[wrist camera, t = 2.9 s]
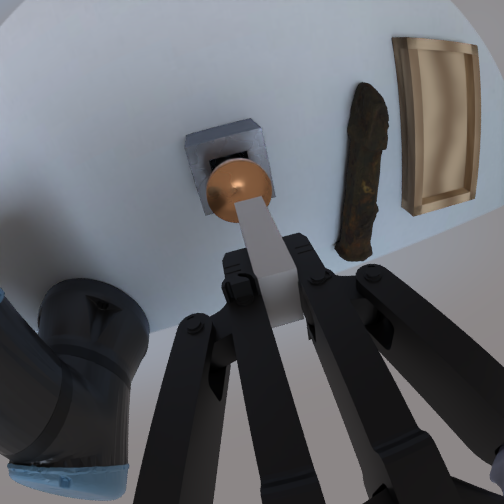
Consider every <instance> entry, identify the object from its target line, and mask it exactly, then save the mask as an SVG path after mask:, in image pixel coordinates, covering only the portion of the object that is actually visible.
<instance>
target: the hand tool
mask: <svg viewBox="0 0 504 504" xmlns="http://www.w3.org/2000/svg"><path fill="white" fill-rule="evenodd" d="M388 121H389V115H388V111H387V106H386V104H385V102H384V99H383V97H382V96H381V95H380V94H379V93H378V91H377V90H376V89H375V88H374V87H373V86H372V85H370V84H369V83H365V82H364V83H363V82H361V83H360V84H359V85H358V87H357V90H356V93H355V96H354V100H353V103H352V108H351V116H350V120H349V125H348V131H347V132H348V136H349V137H350V155H349V164H348V172H347V178H346V194H345V201H344V209H343V214H342V215H343V221H342V232H341V239H340V242H338V243H336V246H335V248H334V249H335V250H336V251H337V253H338V254H339V256H340V257H341V258H343V259H344V260H346V261H351V262H352V261H364V260H366V259H367V258H368V257H370V256H371V255H372V247H371V243H370V240H371V235H372V227H373V222H374V220H375V218H376V214H377V212H378V206H377V204H376V202H377V192H378V185H379V175H380V162H381V154H382V150H386V148H387V141H388V135H387V129H388V128H389V124H388Z"/></svg>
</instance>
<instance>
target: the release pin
mask: <svg viewBox="0 0 504 504" xmlns="http://www.w3.org/2000/svg"><path fill="white" fill-rule="evenodd" d="M259 196H262V198H263V200H264V202H265V204H266V206H268V205H269V203H270V200H271V197H272V184H271V181H270V178H269V177H268V175H267V173H266V172H265V170H264V169H263V168H262V167H261V166H260V165H259V164H257V163H256V162H254V161H252V160H249V159H244V158H241V156H240V155H239V154H238V153H235V154H231V155H227V156H223V157H220V158H216V160H215V169H214V170H213V171H212V173H211V174H210V176H209V178H208V180H207V184H206V197H207V202H208V205H209V207H210V209H211V210H212V211H213V213H214V214H215V215H217V216H218V217H219V218H221V219H223V220H225V221H228V222H233V223H239V220H238V216H237V212H236V209H235V205H234V203H236V202H240V201H244V200H248V199H251V198H255V197H259Z"/></svg>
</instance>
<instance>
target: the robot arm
mask: <svg viewBox="0 0 504 504" xmlns="http://www.w3.org/2000/svg"><path fill="white" fill-rule="evenodd" d="M234 205H235V209H236V212H237V216H238V220H239V224H240V228H241V231H242V235H243V239H244V243H245V246H246V248H243V249H239V250H236V251H232V252H228V253H225V256H224V258H223V260H222V262H223V268H224V274H225V279H224V281H223V282H222V287H221V288H222V291H223V293H224V296H225V299H226V302H227V303H226V305H225V306H224V308H222V309H221V310H220V311H219V312H217V313H216V314H214V315H212V316H210V317H209V316H208V315H206V314H204V313H196V314H191V315H189V316H187V317H185V318H184V319H183V320H182V321H181V322H180V324H179V326H178V329H177V332H176V336H175V339H174V343H173V346H172V350H171V353H170V357H169V360H168V364H167V367H166V371H165V374H164V378H163V382H162V385H161V389H160V393H159V397H158V401H157V404H156V408H155V412H154V416H153V420H152V423H151V427H150V431H149V435H148V440H147V444H146V448H145V452H144V456H143V460H142V465H141V469H140V474H139V478H138V482H137V487H136V492H135V496H134V501H133V504H213V499H214V490H215V483H216V474H217V466H218V459H219V451H220V444H221V436H222V428H223V420H224V413H225V405H226V397H227V390H228V382H229V375H230V367H231V365H230V364H231V363H232V362H234V361H236V360H237V363H238V368H239V374H240V379H241V385H242V390H243V395H244V401H245V406H246V411H247V416H248V421H249V426H250V431H251V436H252V441H253V446H254V451H255V456H256V461H257V465H258V470H259V475H260V480H261V488H260V492H261V499H262V504H326V503H325V500H324V497H323V494H322V491H321V487H320V484H319V481H318V478H317V475H316V472H315V469H314V466H313V463H312V460H311V457H310V453H309V450H308V447H307V444H306V440H305V437H304V433H303V430H302V427H301V424H300V420H299V417H298V414H297V411H296V407H295V404H294V401H293V397H292V394H291V391H290V387H289V384H288V381H287V377H286V374H285V371H284V368H283V364H282V361H281V357H280V354H279V351H278V347H277V344H276V341H275V337H274V334H273V331H272V328H274V327H277V326H281V325H285V324H288V323H292V322H295V321H299V320H302V319H304V316H305V318H306V322H307V329H308V337H309V340H310V339H312V341H313V344H314V346H315V349H316V351H317V354H318V357H319V359H320V362H321V364H322V367H323V369H324V372H325V374H326V377H327V379H328V382H329V385H330V387H331V390H332V392H333V395H334V398H335V400H336V403H337V405H338V408H339V411H340V413H341V416H342V419H343V421H344V424H345V427H346V429H347V432H348V434H349V437H350V440H351V442H352V445H353V448H354V451H355V453H356V456H357V458H358V461H359V464H360V467H361V470H362V473H363V481H364V485H365V488H366V491H367V494H368V497H369V500H368V501H366V502H365V503H363V504H504V367H503V366H502V365H501V364H499V362H497V361H496V360H495V359H494V358H493V357H492V356H491V355H490V354H489V353H488V352H487V351H485V350H484V349H483V348H482V347H481V346H480V345H479V344H478V343H476V342H475V341H474V340H473V339H472V338H471V337H470V336H468V335H467V334H466V333H465V332H464V331H462V330H461V329H460V328H459V327H458V326H457V325H456V324H454V323H453V322H452V321H451V320H450V319H448V318H447V317H446V316H445V315H443V313H441V312H440V311H439V310H438V309H436V308H435V307H434V306H433V305H432V304H431V303H429V302H428V301H427V300H426V299H424V298H423V297H422V296H421V295H419V294H418V293H417V292H416V291H414V290H413V289H412V288H411V287H409V286H408V285H407V284H406V283H404V282H403V281H402V280H401V279H399V278H398V277H397V276H395V275H394V274H393V273H392V272H390V271H389V270H388V269H386V268H385V267H383V266H381V265H377V264H367V265H364V266H362V267H360V268H359V269H358V270H357V273H356V276H338V275H335V274H334V273H333V272H332V271H331V270H329V269H327V268H325V267H324V265H323V263H322V262H321V260H320V258H319V256H318V255H317V253H316V251H315V250H314V248H313V247H312V245H311V243H310V242H309V240H308V238H307V237H306V236H304V235H302V234H301V233H296V234H292V235H288V236H285V237H281V235H280V232H279V230H278V228H277V226H276V224H275V222H274V220H273V218H272V216H271V214H270V212H269V210H268V208H267V206H266V204H265V202H264V200H263V198H262V196H259V197H255V198H251V199H248V200H244V201H240V202H236V203H234ZM4 295H5V293H4V291H3V290H2V288H0V454H1V455H3V456H5V457H6V458H8V459H9V460H10V462H9V463H8V465H7V467H8V469H9V476H10V477H11V479H13V480H15V481H16V482H17V483H19V484H22V485H24V486H27V487H30V488H33V489H36V490H39V491H43V492H47V493H51V494H55V495H60V496H65V497H71V498H77V499H85V500H100V501H108V500H115V499H118V498H119V497H121V496H122V495H123V494H124V493H125V491H126V484H127V473H128V469H129V464H128V424H129V402H130V388H131V387H130V386H131V381H132V379H133V377H134V375H135V373H136V371H137V369H138V367H139V365H140V362H141V361H142V359H143V357H144V356H145V354H146V352H147V348H148V342H149V324H148V321H147V318H146V316H145V314H144V312H143V311H142V309H141V308H140V307H139V306H138V304H137V303H136V302H135V301H134V300H133V299H131V298H130V297H129V296H128V295H126V294H125V293H124V292H122V291H120V290H119V289H117V288H115V287H113V286H111V285H108V284H105V283H103V282H99V281H95V280H89V279H71V280H66V281H63V282H60V283H58V284H56V285H55V286H53V287H52V288H51V289H50V290H49V291H48V292H47V294H46V295H45V297H44V300H43V302H42V304H41V306H40V309H39V313H38V328H39V332H38V335H37V333H36V332H35V331H34V330H33V329H32V328H31V327H30V326H29V325H28V323H27V322H26V321H25V320H24V319H23V318H22V316H21V315H20V314H19V313H18V312H17V311H16V309H15V308H14V307H13V306H12V304H11V303H10V302H9V301H8V299H7V298H6V297H5V296H4ZM303 313H304V316H303ZM379 352H380V353H382V355H383V356H384V357H385V358H386V359H387V360H388V361H389V362H390V363H391V364H392V365H393V366H394V367H395V368H396V370H398V372H399V373H400V374H401V375H402V376H403V377H404V378H405V379H406V380H407V381H408V382H409V383H410V384H411V386H412V387H413V388H414V389H415V390H416V391H417V392H418V393H419V394H420V395H421V396H422V397H423V398H424V399H425V401H426V402H427V403H428V404H429V405H430V406H431V407H432V408H433V409H434V410H435V411H436V413H437V414H438V415H439V416H440V417H441V418H442V419H443V420H444V421H445V422H446V423H447V424H448V426H449V427H450V428H451V429H452V430H453V431H454V432H455V433H456V434H457V436H458V437H459V438H460V439H461V440H462V441H463V442H464V443H465V444H466V446H467V447H468V448H469V449H470V450H471V451H472V452H473V453H474V454H476V455H477V456H478V457H479V458H481V459H482V460H483V461H485V462H486V463H488V464H490V465H492V469H491V472H490V480H491V481H492V482H494V483H496V484H497V485H498V486H499V487H500V488H501V489H502V492H503V496H501V495H498V494H496V493H493V492H490V491H487V490H485V489H482V488H479V487H477V486H474V485H472V484H469V483H467V482H465V481H462V480H459V479H457V478H455V477H452V476H450V474H449V472H448V470H447V467H446V465H445V463H444V461H443V459H442V457H441V454H440V452H439V450H438V448H437V446H436V444H435V442H434V440H433V439H432V437H431V436H430V435H429V434H428V433H427V432H426V431H423V430H421V429H420V428H419V427H418V426H417V424H416V422H415V420H414V418H413V416H412V414H411V412H410V410H409V408H408V406H407V404H406V402H405V400H404V398H403V396H402V394H401V392H400V390H399V388H398V386H397V385H396V383H395V381H394V379H393V377H392V375H391V373H390V371H389V369H388V368H387V366H386V364H385V362H384V360H383V358H382V356H381V355H380V353H379Z"/></svg>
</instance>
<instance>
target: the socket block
mask: <svg viewBox="0 0 504 504" xmlns="http://www.w3.org/2000/svg"><path fill="white" fill-rule="evenodd" d="M185 151H186V154H187V157H188V161H189V164H190V167H191V171H192V174H193V177H194V181H195V184H196V187H197V190H198V193H199V197H200V200H201V203H202V206H203V209H204V213H205V216H206V215H210V214H213V211H212V210H211V209H210V207H209V205H208V202H207V197H206V184H207V180H208V178H209V176H210V174H211V173H212V171H213V168H212V164H211V161H210V160H212V159H216V158H220V157H223V156H227V155H231V154H235V153H239V152H242V155H243V158H244V159H249V160H252V161H254V162H256V163H257V164H259V165H260V166H261V167H262V168H263V169H264V170H265V172H266V173H267V175H268V177H269V178H270V181H271V184H272V197H271V198H273V197H276V196H275V191H274V186H273V181H272V176H271V171H270V166H269V161H268V156H267V151H266V146H265V141H264V136H263V131H262V128H261V127H260V126H259V125H258V124H257V123H256V122H254V121H253V120H252V119H251V118H250V119H246V120H241V121H237V122H233V123H229V124H225V125H221V126H217V127H214V128H210V129H206V130H202V131H199V132H195V133H192V134H188V135H186V141H185Z"/></svg>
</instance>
